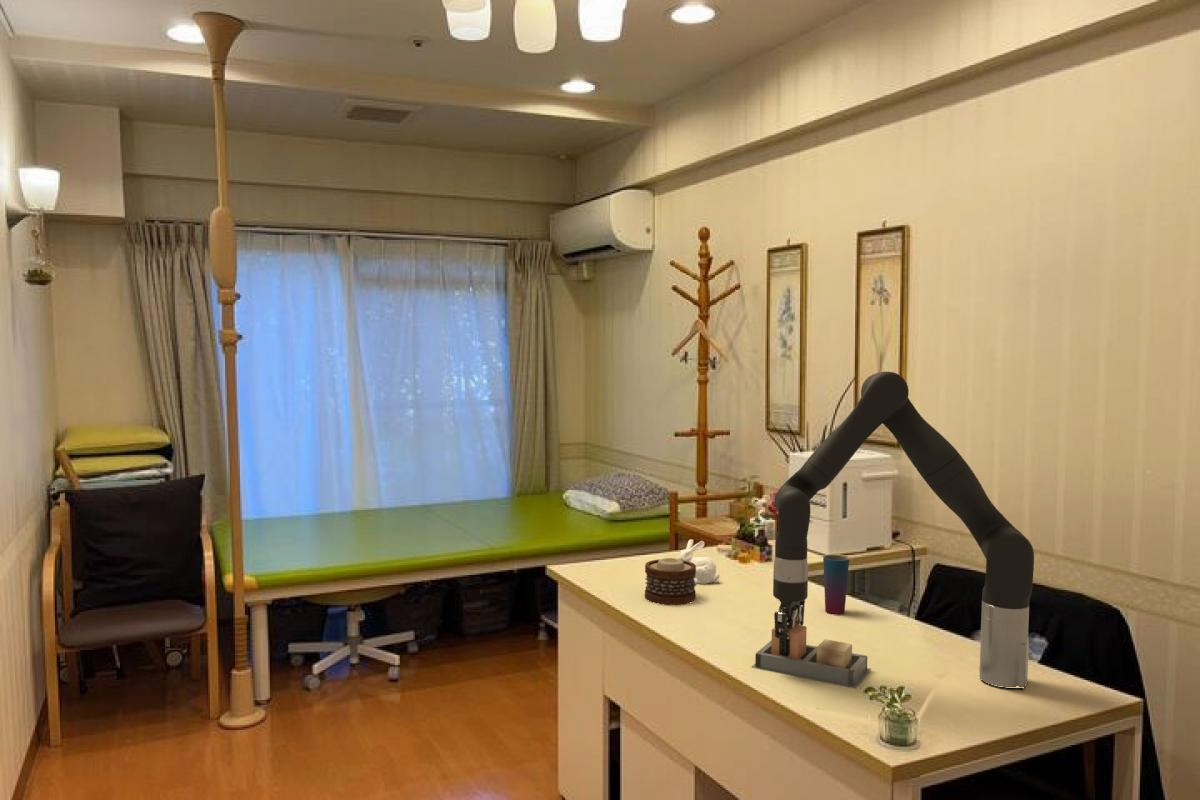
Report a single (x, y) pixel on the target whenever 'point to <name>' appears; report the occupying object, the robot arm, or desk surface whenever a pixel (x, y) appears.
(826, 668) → the pocket tray
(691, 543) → the rabbit
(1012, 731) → the desk surface
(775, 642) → the terracotta cube
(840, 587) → the cup
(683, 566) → the spiked roller
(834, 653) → the oak cube
